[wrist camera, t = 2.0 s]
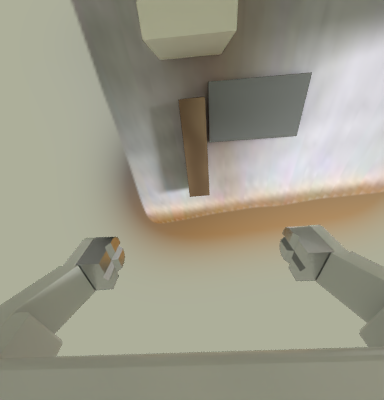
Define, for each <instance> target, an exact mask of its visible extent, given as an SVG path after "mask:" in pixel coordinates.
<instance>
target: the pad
mask: <svg viewBox="0 0 384 400" xmlns="http://www.w3.org/2000/svg"><path fill="white" fill-rule="evenodd" d="M311 75H312V72H311V73H300V74H289V75H278V76H267V77H256V78H245V79H234V80H223V81H211V82H208V101H209V142H220V141H234V140H247V139H260V138H273V137H287V136H297V132H298V128H299V124H300V120H301V115H302V111H303V107H304V103H305V99H306V95H307V91H308V87H309V83H310V79H311Z"/></svg>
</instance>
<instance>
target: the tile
mask: <svg viewBox="0 0 384 400" xmlns="http://www.w3.org/2000/svg"><path fill="white" fill-rule="evenodd" d="M136 5H137V11H138V17H139V23H140V29H141V34H142V40H143V41H144V42H145V44H146V45H147V46H148V47H149V48H150V49H151V50H152V52H153V53H154V54H155V55H156V56H157V57H158V58H159V59H160V60H166V59H177V58H187V57H197V56H208V55H218V54H221V53H222V52H223V50H224V49H225V47H226V46H227V44H228V43H229V41H230V40H231V38H232V37H233V35H234V34H235V32H236V31H237V13H238V0H138V1H136Z"/></svg>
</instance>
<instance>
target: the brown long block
mask: <svg viewBox="0 0 384 400" xmlns="http://www.w3.org/2000/svg"><path fill="white" fill-rule="evenodd" d="M179 109H180V117H181V126H182V134H183V142H184V151H185V159H186V167H187V176H188V184H189V193H190V197H192V196H204V195H209V175H208V154H207V133H206V111H205V97H197V98H188V99H180V100H179Z"/></svg>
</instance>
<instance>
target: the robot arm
mask: <svg viewBox="0 0 384 400" xmlns="http://www.w3.org/2000/svg"><path fill="white" fill-rule="evenodd" d="M283 235H284V236H285V237H284V238H283V239H281V241H280V252H281V255H282V257H283V259H284V260H285V261H287V262H288V263H290V264H289V269H290V271H291V273H292V274H293V276H294V278H295V280H296V281H316V282H317V283H318V284H320V285H321V286H322V287H323V288H325V289H326V290H327V291H328V292H329V293H331V294H332V295H333V296H335V297H336V298H337V299H338V300H339V301H341V302H342V303H343V304H344V305H346V306H347V307H348V308H349V309H351V310H352V311H353V312H354V313H356V314H357V315H358V316H359V317H361V318H362V319H363V320H364V321H366V322H367V324H366V325H365V326H364V327H363V328H362V329H361V330H360V333H359V334H360V336H361V337H362V338H363V340H364V341H365V343H366V344H367V346H368V347H355V348H323V349H289V350H255V351H225V352H224V351H222V352H189V353H159V354H158V353H157V354H126V355H125V354H124V355H92V356H91V355H90V356H57V357H56V355H57V353H58V352H59V349H60V348H61V346H62V340H61V339H60V338H59V337H57V336H56V335H55V333H56V332H57V331H58V330H59V329H60V327H61V326H62V325H63V324H64V323H65V322H66V321H67V320H68V319H69V318H70V317H71V316H72V315H73V314H74V313H75V312H76V311H77V310H78V309H79V308H80V307H81V306H82V305H83V304H84V303H85V302H86V301H87V300H88V299H89V298H90V296H91V295H92V294H93V293H94V292H95V290H107V289H114V286H115V284H116V281H117V279H118V277H119V275H118V271H119V270H120V269H121V268H122V267H123V264H124V259H125V254H124V250H123V248H121V247H120V246H119V244H120V241H119V239H118V237H96V238H86V239H84V240H82V242H81V243H80V244H79V246H78V247H77V248H76V250H75V251H74V252H73V254H72V255H71V256H70V257H69V259H68V260H67V261H66V263H65V264H64V265H63V266H60V267H58V268H56V269H55V270H53V271H52V272H50V273H48V274H47V275H45V276H44V277H43V278H41V279H39V280H38V281H36V282H35V283H33V284H32V285H30V286H29V287H27V288H26V289H24V290H23V291H21V292H20V293H18V294H16V295H15V296H13V297H12V298H10V299H9V300H7V301H6V302H4V303H3V304H1V305H0V400H384V267H383V266H381V265H379V264H377V263H375V262H373V261H371V260H368V259H366V258H364V257H362V256H360V255H358V254H356V253H354V252H348V251H347V250H346V249H345V248H344V247H343V246H342V245H341V244H340V243H339V242H338V241H337V240H336V239H335V238H334V237H333V236H332V235H331V234H330V233H329V232H328V231H327V230H326V229H325V228H324V227H322V226H320V225H311V226H298V227H286V228H285V229H284V230H283Z"/></svg>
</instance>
